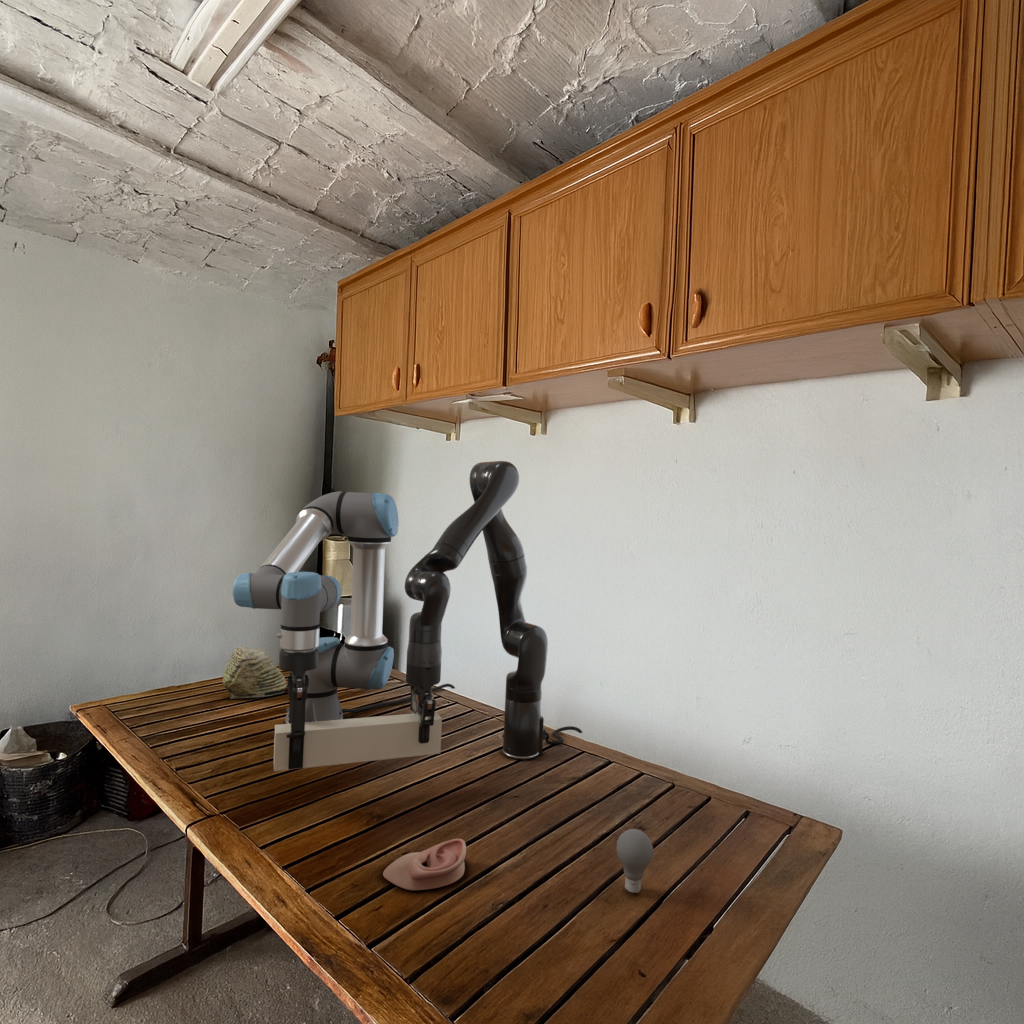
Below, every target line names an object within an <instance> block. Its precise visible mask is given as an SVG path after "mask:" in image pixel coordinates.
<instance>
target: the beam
mask: <svg viewBox="0 0 1024 1024" xmlns="http://www.w3.org/2000/svg"><path fill="white" fill-rule="evenodd" d="M425 720H428V717H425ZM442 724H443V718H442V717H441V716H440V715H439V713H438V712H437V711H435V714H434V724H433V726H430V732H429V742H428V743H422V744H421V743H419V741H418V738H419V716H418V715H417V714H416V713H415V714H412V713H403V714H393V715H380V716H379V715H378V716H366V717H355V718H343V719H341V720H329V721H316V722H305V736H304V749H303V768H302V769H307V768H308V769H309V768H317V767H326V766H328V767H329V766H336V765H346V764H355V763H364V762H374V761H375V762H376V761H383V760H392V759H402V758H411V757H412V758H413V757H420V756H421V757H422V756H430V755H431V756H432V755H439V754H441V747H442V729H443V727H442V726H443V725H442ZM290 733H291V724H286V723H281V724H274V736H273V737H274V738H273V739H274V740H273V772H280V771H289V770H292V769H288V765H289V738H287V734H290ZM297 769H301V768H297ZM297 769H296V770H297Z"/></svg>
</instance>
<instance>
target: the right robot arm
mask: <svg viewBox="0 0 1024 1024" xmlns="http://www.w3.org/2000/svg"><path fill="white" fill-rule="evenodd" d="M519 484H520V474H519V471H518V469H517V467H516V466H515V465H514V464H513V463H512V462H510V461H505V460H495V461H482V462H477V463H476V464H474V465H473V467H472V468H471V470H470V473H469V488H470V492H471V496H472V499H473V502H474V503H472V504H471V505H470V507H468V508H467V509H466V510H465V511H464V512H462V513H461V514H460V515H458V516H457V517H456V518H455V519H454V520H453V521H451V523H450V524H449V525H448V526H447V527H446V528H445V530H444V531H443V532H442V533H441V535H440V537H439V538H438V540H437V541H436V543H435V544H434V546H433V548H432V549H431V550H430V551H429V552H427V553H426V554H425V555H424V556H423V557H422V558H420V560H419V561H418V562H416V564H414V566H413V567H412V568H411V569H410V570H409V572H408V573H407V575H406V577H405V581H404V587H403V588H404V591H405V594H406V595H407V597H408V598H409V599H412V600H415V601H418V602H423V604H422V608H421V611H418V612H414V613H413V614H412V615H411V616H410V617H409V627H408V628H409V629H408V645H407V651H406V667H405V668H406V669H405V673H406V674H405V682H406V683H407V684H408V685H409V687H410V697H411V700H410V707H409V708H410V711H411V714H415V713H416V714H417V715H418V716H419V738H418V741H419V743H421V744H422V743H428V742H429V732H430V726H433V724H434V714H435V712H436V704H437V701H436V699H435V698H434V691H432V689H431V688H433V686H436V685H438V684H439V683H440V682H441V680H442V679H441V677H442V676H441V675H442V655H443V654H442V653H443V651H442V650H443V648H442V630H443V629H442V628H443V619H444V617H445V614H446V610H447V607H448V604H449V600H450V597H451V591H452V588H451V587H452V586H451V583H450V579H449V577H448V575H447V574H446V572H450V571H454V570H457V568H458V567H460V565H461V563H462V562H463V560H464V558H466V555H467V553H468V552H469V550H470V549H471V547H472V546H473V545H474V543H475V541H476V539H477V538H478V537H479V535H480V534H481V533H482V534H483V539H484V544H485V547H486V553H487V560H488V565H489V570H490V575H491V578H492V582H493V589H494V593H495V599H496V604H497V611H498V622H499V632H500V633H499V634H500V640H501V641H500V642H501V644H502V648H503V650H504V652H506V654H507V655H509V656H511V657H514V658H516V659H518V660H517V666H516V667H517V668H516V670H512V671H509V672H508V673H507V674H506V677H505V695H504V698H505V699H504V718H503V719H504V720H503V733H502V739H503V741H502V754H503V755H504V756H506V757H508V758H510V759H514V760H521V761H525V760H531V759H535V758H537V757H538V756H539V755H543V747H544V746H543V743H544V742H545V743H546V744H549V745H559V744H562V743H563V742H564V738H563V736H561V735H559V733H561V732H564V731H575V732H578V733H579V734H583V731H582V730H581V728H579V727H578V726H572V725H571V726H570V725H569V726H568V725H567V726H563V727H559V728H557V729H555V730H554V731H552V736H553V737H554V738H555V739H556V740H550V738H551V737H550V736H551V735H550V733H549V732H547V730H546V729H545V728H544V723H545V722H544V721H545V718H544V716H543V715H542V691H543V682H544V678H545V676H546V672H547V663H548V662H547V660H548V653H549V652H548V651H549V638H548V634H547V631H546V630H545V629H544V627H542V626H540V625H536V624H533V623H530V622H527V620H526V617H525V614H524V608H523V602H522V601H523V600H522V599H523V594H524V590H525V588H526V585H527V580H528V575H529V574H528V573H529V571H528V563H527V557H526V553H525V548H524V545H523V544H522V541H521V540H520V538H519V537H518V535H517V533H516V532H515V531H514V529H513V528H512V526H511V525H510V524H509V522H508V520H507V519H506V516H505V515H504V512H503V507H504V506H505V505H506V504H507V503H508V502H509V501H510V500H511V498H512V497H513V496H514V495H515V493H516V492H517V490H518V488H519ZM425 717H428V720H425Z"/></svg>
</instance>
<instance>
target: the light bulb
mask: <svg viewBox="0 0 1024 1024" xmlns="http://www.w3.org/2000/svg"><path fill="white" fill-rule="evenodd" d="M615 849H616V854H617V857H618V859H619V861H620V863H621V865H622V867H623V873H624V874H623V875H624V876H625V878H624V888H625V890H627V891H628V892H630V893H634V894H635V893H639V892H640V891H641V889H642V887H641V886H642V879H643V877H644V875H645V871H646V868H647V867H648V866H649V864H650V863H651V861H652V859H653V855H654V847H653V843H652V841H651V838H649V836H648V835H647V834H646V833H645V832H643V831H642V830H641V829H636V828H629V829H627V830H625V831H623V832H622V833H621V834H620V835H619V837H618V839H617V841H616V847H615Z"/></svg>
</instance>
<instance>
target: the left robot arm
mask: <svg viewBox="0 0 1024 1024" xmlns="http://www.w3.org/2000/svg"><path fill="white" fill-rule="evenodd" d="M398 512H399V511H398V508H397V504H396V502H395V499H394V498H393V496H392V495H390V494H388V493H381V492H358V491H357V492H355V491H332V492H329V493H326V494H323V495H321V496H319V497H317V498H316V499H314V500H312V501H310V502H309V503H308V504H307V505H305V506H304V507H303V508H302V509H301V510H300V511H299V513H297V516H296V518H295V523H294V525H293V526H292V527H291V529H289V531H288V532H287V534H286V535H285V536H284V538H282V540H281V541H280V543H279V544H278V545H277V546H276V547H275V549H273V551H272V552H271V554H270V555H269V556H268V557H267V558H266V559H265V560H264V561H263V563H262V564H261V566H259V568H258V569H257V570H256V571H255V572H254V573H253V572H247V573H241V574H238V575H237V576H236V577H235V580H234V581H233V585H232V593H231V594H232V598H233V602H234V603H235V605H236V606H237V607H241V608H250V609H253V610H255V609H260V610H261V609H262V610H281V611H280V632H278V633H277V634H276V638H278V639H280V640H279V647H280V649H281V650H280V651H279V653H278V654H279V657H278V660H279V661H278V667H279V668H278V669H279V670H280V671H283V672H289V675H287V680H286V682H287V695H288V703H289V705H288V707H285V712H287V713H286V715H285V724H291V733H290V734H287V738H289V765H288V769H291V770H297V768H300V769H304V768H303V749H304V736H305V722H316V721H329V720H341V719H344V714H343V713H358V712H363V711H367V710H370V709H375V708H379V707H385V706H391V705H397V704H402V703H405V702H408V701H409V702H410V701H411V696H408V697H405V698H401V699H396V700H395V699H394V700H390V701H384V702H378V703H374V704H369V705H365V706H362V707H357V708H342V706H341V702H340V699H339V695H338V688H340V689H341V688H342V689H359V690H366V691H370V690H382V689H383V688H384V687H385V686H386V685H387V684H388V681H389V679H390V676H391V673H392V669H393V665H394V657H395V652H394V648H393V647H391V646H388V638H387V637H386V636H385V635H384V634H383V624H384V623H383V622H384V621H383V620H384V597H385V596H384V593H385V591H384V590H385V565H386V564H385V563H386V549H387V547H388V546H389V545H390V544H391V543H392V538H394V537H396V536H397V534H398V532H399V513H398ZM335 534H339V535H340V534H341V535H347V542H348V544H349V545H350V546H351V547H352V549H353V551H352V579H351V582H352V583H351V608H350V609H351V611H350V634H349V635H348V636H347V637H346V638H345V639H344V643H343V644H341V641H340V639H339V638H338V637H334V636H325V637H320V621H321V620H320V618H321V613H322V612H325V611H328V610H330V609H332V608H333V607H334V606H336V605H337V604H338V603H339V601H340V600H341V597H342V591H343V590H342V585H341V583H340V582H339V581H338V579H336V578H335V577H334V576H332V575H328V574H325V575H324V574H323V575H321V574H319V573H317V572H313V571H300V570H301V569H302V567H303V566H304V564H305V563H306V561H307V560H308V558H310V556H311V555H312V553H313V552H314V550H315V549H316V547H317V546H318V545H319V543H320V542H321V541H323V540H327V538H328V537H329V536H330V535H335ZM445 688H450V689H452V690H454V689H456V686H454V685H453V684H451V683H444V684H441V685H438V686H435V687H431V689H432V692H434V691H439V690H442V689H445Z"/></svg>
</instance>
